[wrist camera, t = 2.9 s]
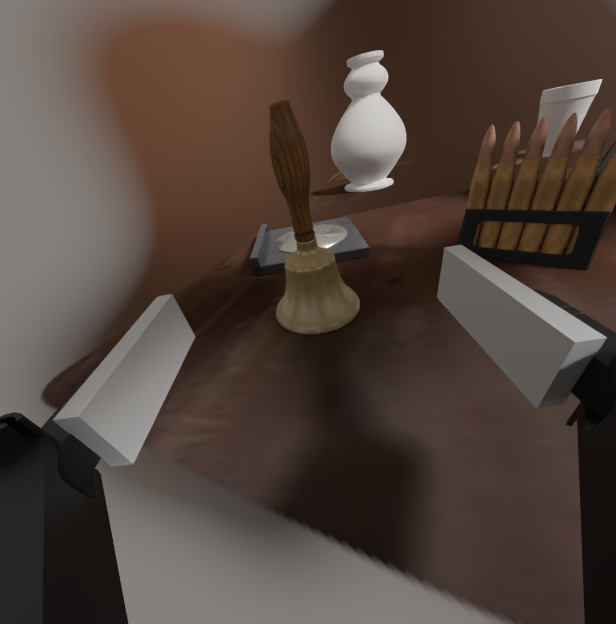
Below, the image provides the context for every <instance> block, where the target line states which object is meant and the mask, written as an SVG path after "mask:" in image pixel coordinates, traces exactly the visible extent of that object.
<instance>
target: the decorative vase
mask: <svg viewBox="0 0 616 624" xmlns="http://www.w3.org/2000/svg"><path fill="white" fill-rule="evenodd" d="M382 58H383V51H372V52H367V53H363V54H360V55H357V56H354V57H352V58H350V59H349V60H347V66H348V67H350V68H352V71H351V72H350V73H349V75H348V76H347V78H346V80H345V83H344V90H345V92H346V94H347V95H348V96H349V97H350V98H352V103H351V104H350V105H349V107H348V109H347V110H346V112H345V113H344V115H343V117H342V118H341V120H340V122H339V124H338V126H337V129H336V131H335V134H334V136H333V139H332V144H331V155H332V159H333V161H334V163H335V164H336V166H337V167H338V168H339V169H340V171H341V172H342V173H343V174H344V175H345V176H346V178H347V179H348V180H349V181H350V182H351V183H350V184H348V185H346V186H345V191H348V192H365V191H372V190H377V189H382V188H385V187H388V186H390V185H392V184H393V179H391V178H386V177H387V175H388V174H389V173H390V171H391V170H392V168H393V167H394V165H395V164H396V162H397V161H398V159H399V158H400V156H401V154H402V152H403V150H404V148H405V145H406V131H405V127H404V124H403V122H402V120H401V119H400V118H399V115H398V114H397V113H396V111H395V110H394V109H393V107H392V106H391V105H390V104H389V103H388V102H387V101H386V100H385V99H384V98H383V97H382V96H381V95H380V92H381V91H382V90H383V88H384V86H385V85H386V83H387V81H388V73H387V71H386V69H385V68H384V67H383V66H381V65H380V64H379V61H380V60H381V59H382Z"/></svg>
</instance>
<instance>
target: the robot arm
mask: <svg viewBox="0 0 616 624" xmlns="http://www.w3.org/2000/svg"><path fill="white" fill-rule="evenodd" d="M615 147H616V142H615V143H614V144H613V146H612V147H611V148H610V150H609V151H608V152H607V153H606V155H605V156H604V158H603V159H602V161H601V162H600V163H599V164H598V168H597V174H596V177H595V179H594V182H593V184H592V187H591V190H593V188H594V186H595V184H596V181H597V179H598V177H599V175H600V173H601V172H602V170H603V169H604V167H605V166H606V164H607V163H608V161H609V158H610V156H611V154H612V153H613V151H614V149H615ZM437 298H438V299H439V301H440V302H441V303H442V304H443V305H444V306H445V307H446V308H447V309H448V311H449V312H450V313H451V314H452V315H453V316H454V317H455V318H456V319H457V321H458V322H459V323H460V324H461V325H462V326H463V327H464V328H465V329H466V331H467V332H468V333H469V334H470V335H471V336H472V337H473V338H474V339H475V341H476V342H477V343H478V344H479V345H480V346H481V347H482V348H483V349H484V351H485V352H486V353H487V354H488V355H489V356H490V357H491V358H492V359H493V361H494V362H495V363H496V364H497V365H498V366H499V367H500V368H501V369H502V370H503V372H504V373H505V374H506V375H507V376H508V377H509V378H510V379H511V380H512V382H513V383H514V384H515V385H516V386H517V387H518V388H519V389H520V390H521V392H522V393H523V394H524V395H525V396H526V397H527V398H528V399H529V400H530V402H531V403H532V404H533V405H534V406H535V407H536V408H537V409H538V408H545V407H553V406H560V405H563V404H564V402H565V401H566V399H567V398H568V396H569V395H570V393H571V392H572V393H573V394H574V395H575V396H576V397H577V398H578V399H579V400H580V401H581V402H580V404H579V405H578V406H577V408H576V409H575V411H574V412H573V413H572V415H571V416H570V418H569V419H568V421H567V424H566V425H569V426H572V425H573V423H574V422H575V421H576V420H577V427H578V454H579V480H580V507H581V533H582V560H583V586H584V613H585V624H616V333H615V332H613V331H611V330H610V329H608V328H607V327H605V326H603V325H602V324H600V323H598V322H597V321H595V320H593V319H592V318H590V317H588V316H587V315H585V314H581V313H580V311H578V310H577V309H575V308H573V307H572V306H571V307H569V304H567V303H565V302H564V301H562V300H560V299H559V298H557V297H555V296H553V295H550V294H547V293H544V292H542V291H539V290H532V289H530V288H528V287H527V286H525V285H524V284H522V283H521V282H519V281H517V280H516V279H514V278H513V277H511V276H510V275H508V274H506V273H505V272H503V271H502V270H500V269H499V268H497V267H495V266H494V265H492V264H491V263H489V262H488V261H486V260H484V259H483V258H481V257H480V256H478V255H477V254H475V253H473V252H472V251H470V250H469V249H467V248H466V247H464V246H462V245H456V246H450V247H444V253H443V260H442V267H441V273H440V280H439V287H438V294H437ZM194 339H195V335H194V333H193V331H192V329H191V328H190V326H189V324H188V322H187V320H186V318H185V317H184V315H183V313H182V311H181V309H180V307H179V305H178V304H177V302H176V300H175V298H174V296H173V294H170V295H164V296H159V297H157V298H156V299H155V300H154V301H153V302H152V304H151V305H150V306H149V307H148V308H147V309H146V311H145V312H144V313H143V314H142V315H141V316H140V318H139V319H138V320H137V321H136V322H135V324H134V325H133V326H132V327H131V328H130V329H129V331H128V332H127V333H126V334H125V335H124V336H123V338H122V339H121V340H120V341H119V342H118V344H117V345H116V346H115V347H114V348H113V349H112V351H111V352H110V353H109V354H108V355H107V357H106V358H105V359H104V360H103V361H102V362H101V363H100V364H99V365H97V366H96V367H95V368H93V369H92V370H91V371H90V372H89V373H88V375H87V376H86V377H85V378H84V379H83V380H82V381H81V382H82V383H81V384H79V385H78V386H77V387H76V388H75V390H74V391H73V392H74V393H71V394H70V395H69V397H68V398H67V399H66V400H65V401H64V402H63V403H62V405H61V406H60V407H59V408H58V409H57V410H56V412H55V413H54V414H53V415H52V416H51V417H50V418H49V420H48V421H47V422H46V423H45V424H44V425H43V427H42V428H40V427H38V426H37V425H35V424H34V423H33V422H31V421H30V420H29V419H27V418H26V417H25V416H23V415H22V414H21V413H15V412H14V413H10V414H6V415H3V416H1V417H0V624H128V620H127V614H126V609H125V604H124V599H123V593H122V587H121V582H120V576H119V571H118V566H117V560H116V555H115V550H114V544H113V538H112V533H111V528H110V522H109V517H108V511H107V506H106V501H105V495H104V490H103V485H102V479H101V474H100V473H99V471H98V470H97V469H95V467H96V465H97V464H98V462H99V460H100V459H102V460H103V461H105V462H106V463H107V464H109V465H110V466H111V467H116V466H123V465H130V464H134V462H135V460H136V458H137V455H138V453H139V451H140V449H141V447H142V445H143V443H144V441H145V439H146V437H147V435H148V433H149V431H150V429H151V427H152V425H153V423H154V421H155V419H156V417H157V414H158V412H159V410H160V408H161V406H162V404H163V402H164V400H165V398H166V396H167V394H168V392H169V390H170V388H171V386H172V384H173V382H174V380H175V378H176V376H177V373H178V371H179V369H180V367H181V365H182V363H183V361H184V359H185V357H186V355H187V353H188V351H189V349H190V347H191V345H192V343H193V341H194Z"/></svg>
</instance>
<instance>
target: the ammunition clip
mask: <svg viewBox="0 0 616 624" xmlns="http://www.w3.org/2000/svg"><path fill="white" fill-rule="evenodd" d="M611 120H612V110H611V108H607V109H606V110H605V111H604V112H603V113H602V115H601V116H600V117H599V119H598V120H597V122H596V123H595V125H594V126H593V128H592V130H591V132H590V133H589V136H588V138H587V139H586V141H585V143H584V146H583V148H582V151H581V154H580V155H579V157H578V159H577V162H576V164H575V166H574V168H573V169H572V171H571V173H570V174H569V176H568V179H567V181H566V184H565V186H564V189H563V192H562V194H561V197H560V200H559V202H558V205H556V202H557V199H558V196H559V194H560V191H561V188H562V185H563V182H564V180H565V176H566V170H567V164H568V161H569V158H570V153H571V150H572V148H573V144H574V141H575V136H576V131H577V114H576V113H573V114H572V115H571V116H570V117H569V119H568V120H567V121H566V123H565V125H564V126H563V128H562V130H561V132H560V134H559V136H558V138H557V140H556V142H555V145H554V147H553V150H552V153H551V156H550V157H549V160H548V163H547V166H546V168H545V170H544V172H543V173H542V175H541V177H540V180H539V183H538V186H537V189H536V192H535V196H534V199H533V202H532V205H530V204H531V201H532V197H533V194H534V191H535V188H536V184H537V181H538V177H539V167H540V163H541V159H542V154H543V151H544V147H545V143H546V137H547V119H546V117H543V118H542V119H541V121H540V122H539V123H538V125H537V127H536V129H535V130H534V132H533V134H532V137H531V139H530V141H529V144H528V147H527V149H526V153H525V156H524V159H523V161H522V165H521V168H520V170H519V172H518V175H517V177H516V179H515V182H514V186H513V189H512V193H511V197H510V200H509V204H508V205H507V203H508V199H509V195H510V192H511V188H512V184H513V180H514V168H515V163H516V157H517V153H518V148H519V142H520V125H519V122H518V121H516V122H515V123H514V125H513V126H512V128H511V130H510V132H509V134H508V136H507V138H506V141H505V144H504V147H503V150H502V153H501V158H500V161H499V164H498V167H497V171H496V173H495V175H494V178H493V181H492V185H491V189H490V194H489V198H488V202H487V197H488V192H489V188H490V183H491V169H492V164H493V156H494V151H495V128H494V125H491V126H490V128H489V129H488V131H487V133H486V135H485V138H484V140H483V143H482V146H481V150H480V154H479V158H478V162H477V166H476V170H475V173H474V176H473V179H472V182H471V187H470V193H469V198H468V203H467V209H466V212H465V216H464V220H463V225H462V229H461V233H460V237H459V242H458V245H462V246H464V247H466V248H467V249H469V250H470V251H472V252H473V253H475V254H477V255H478V256H480V257H481V258H484V259H492V260H501V261H509V262H518V263H526V264H535V265H543V266H552V267H560V268H569V269H577V270H587V269H588V267H589V264H590V262H591V260H592V257H593V255H594V252H595V250H596V248H597V245H598V243H599V241H600V238H601V236H602V233H603V231H604V229H605V226H606V224H607V222H608V219H609V217H610V215H611V213H612V211H613V208H614V206H615V204H616V147H615V149H614V151H613V153H612V154H611V156H610V158H609V161H608V163H607V164H606V166H605V167H604V169H603V170H602V172H601V173H600V175H599V177H598V179H597V181H596V184H595V186H594V188H593V190H592V193H591V195H590V197H589V199H588V202H587V204H586V205H584V203H585V201H586V199H587V196H588V194H589V191H590V189H591V187H592V184H593V182H594V179H595V177H596V174H597V168H598V164H599V161H600V158H601V155H602V151H603V149H604V146H605V144H606V141H607V138H608V134H609V131H610V127H611ZM486 202H487V204H486ZM482 222H483V224H482ZM502 223H503V226H502ZM524 223H525V226H524ZM548 224H550V226H549V229H548V231H547V234H546V237H545V239H544V242H543V244H542V241H543V238H544V235H545V233H546V230H547V227H548ZM481 225H482V229H481ZM575 225H576V226H577V227H576V229H575V231H574V234H573V236H572V238H571V240H570V243H569V245H568V247H566V246H567V244H568V241H569V239H570V237H571V234H572V232H573V230H574V227H575ZM501 227H502V230H501ZM523 227H524V230H523ZM480 230H481V233H480ZM500 230H501V233H500ZM522 230H523V233H522ZM521 233H522V236H521ZM499 234H500V237H499ZM479 235H480V238H479ZM520 236H521V239H520ZM498 238H499V241H498ZM478 239H479V240H478ZM519 240H520V242H519ZM518 243H519V244H518ZM541 244H542V246H541Z"/></svg>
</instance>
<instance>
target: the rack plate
mask: <svg viewBox="0 0 616 624" xmlns="http://www.w3.org/2000/svg"><path fill="white" fill-rule="evenodd" d="M313 230H314V232H315V237H316V241H317V245H318V246H319V247H322V248H326V249H329V250H330V251H332V252H333V254H334V256H335V260H336V262H340V261H346V260H352V259H357V258H363V257H369V256H370V253H369V246H368V245H367V243H366V242H365V240H364V239H363V237H362V236H361V235H360V233H359V232H358V230H357V229H356V227H355V226H354V224H353V223H352V221H351V220H350V219H349V217H348V216H347V217H342V218H336V219H331V220H326V221H320V222H315V223H313ZM296 250H297V244H296V240H295V237H294V230H293V227H288V228H282V229H277V230H272V231H269V229H268V225H267V224H263V225H261V228H260V231H259V233H258V236H257V239H256V242H255V245H254V248H253V250H252V253H251V256H250V262H251V265H252V268H253V271H254V274H255V276H260V275H266V274H272V273H278V272H283V271H285V261H286V259H287V257H288V256H290V255H291V254H292V253H294V252H295V251H296Z"/></svg>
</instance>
